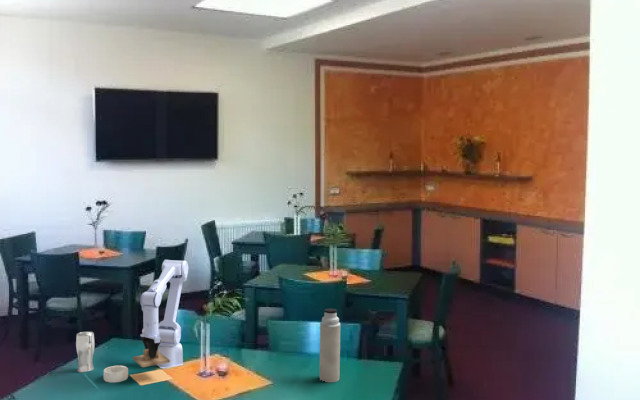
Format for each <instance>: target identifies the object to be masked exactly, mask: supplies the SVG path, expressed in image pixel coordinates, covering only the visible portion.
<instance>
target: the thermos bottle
mask: <svg viewBox="0 0 640 400" xmlns="http://www.w3.org/2000/svg"><path fill="white" fill-rule="evenodd" d="M323 311H324V312H323V313H324V314H323V315H324V316H322V318H321V322H320V325H319V329H320V332H319V377H318V378H320V379H319V381H321V380H322V381H321V382H323V381H325V383H336V382H339V380H340V376H341V375H340V369H341V368H340V367H341V365H340V363H341V322H340V318H339V317H338V316H337V315H338V314H337V312H338V310H337V309H336V308H325V309H324V310H323Z"/></svg>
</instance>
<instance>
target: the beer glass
mask: <svg viewBox="0 0 640 400" xmlns="http://www.w3.org/2000/svg"><path fill="white" fill-rule="evenodd" d="M75 339H76V341H75V348H76V353H77V358H78V366H77V372H79V373H82V374H83V373H85V372H90V371H93V370H94V369H95V368H94V363H93V359H94V352H95V333H94V332H93V331H81V332H78V333H76V338H75Z"/></svg>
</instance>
